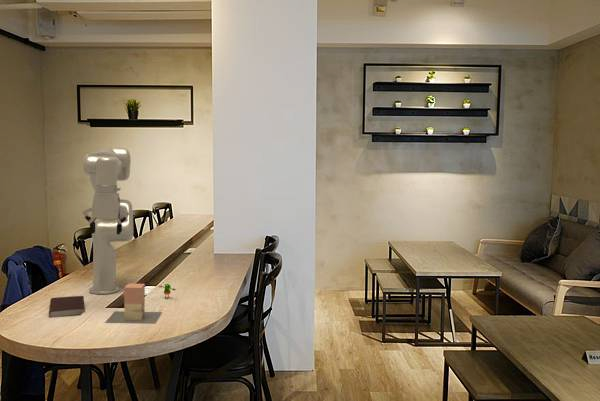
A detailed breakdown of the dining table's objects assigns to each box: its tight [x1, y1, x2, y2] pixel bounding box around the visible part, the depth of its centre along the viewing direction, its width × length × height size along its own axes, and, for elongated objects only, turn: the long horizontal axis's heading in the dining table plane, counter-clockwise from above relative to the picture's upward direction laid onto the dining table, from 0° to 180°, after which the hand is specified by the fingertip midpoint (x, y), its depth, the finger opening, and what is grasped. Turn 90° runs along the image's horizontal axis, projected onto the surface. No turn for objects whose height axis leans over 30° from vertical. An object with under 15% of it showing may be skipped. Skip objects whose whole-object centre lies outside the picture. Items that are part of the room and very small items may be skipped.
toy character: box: [157, 283, 177, 299], centre depth 232 cm, size 11×12×7 cm
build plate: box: [104, 310, 163, 325], centre depth 201 cm, size 14×18×1 cm
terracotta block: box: [123, 283, 146, 305], centre depth 200 cm, size 6×6×6 cm
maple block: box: [123, 300, 146, 320], centre depth 201 cm, size 6×6×6 cm
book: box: [48, 295, 85, 318], centre depth 211 cm, size 12×19×3 cm, turn 23°
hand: (105, 233), depth 209 cm, fingers open, 9 cm apart
